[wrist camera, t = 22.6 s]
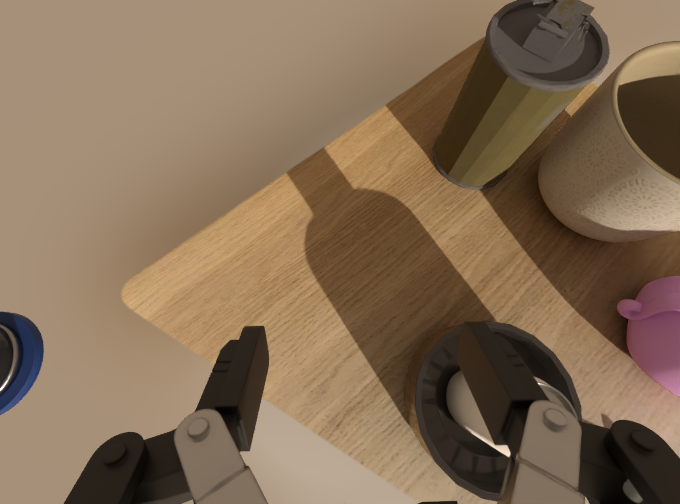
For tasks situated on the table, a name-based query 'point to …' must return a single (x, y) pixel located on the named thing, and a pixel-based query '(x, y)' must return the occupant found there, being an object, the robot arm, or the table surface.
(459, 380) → the can
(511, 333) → the bowl
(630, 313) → the teapot
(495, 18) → the canister
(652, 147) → the planter
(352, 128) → the table surface
